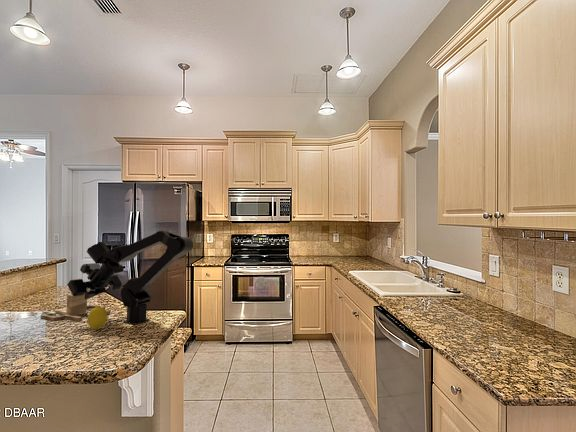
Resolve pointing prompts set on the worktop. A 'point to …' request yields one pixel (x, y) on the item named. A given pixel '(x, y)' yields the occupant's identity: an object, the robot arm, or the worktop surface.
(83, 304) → the oak bookend
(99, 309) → the lemon
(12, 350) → the worktop surface
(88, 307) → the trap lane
